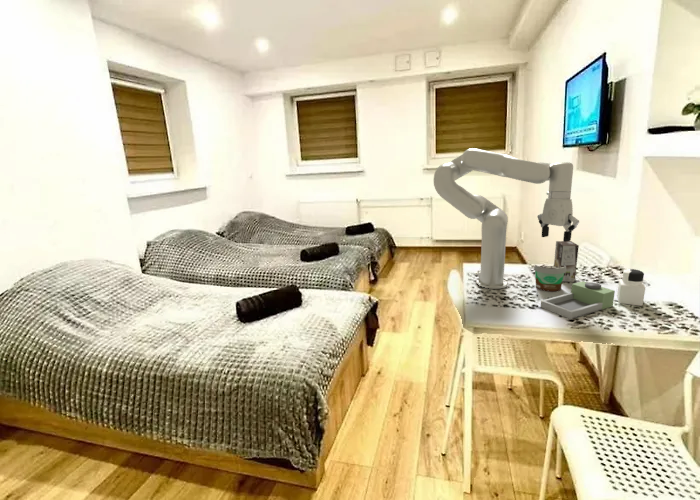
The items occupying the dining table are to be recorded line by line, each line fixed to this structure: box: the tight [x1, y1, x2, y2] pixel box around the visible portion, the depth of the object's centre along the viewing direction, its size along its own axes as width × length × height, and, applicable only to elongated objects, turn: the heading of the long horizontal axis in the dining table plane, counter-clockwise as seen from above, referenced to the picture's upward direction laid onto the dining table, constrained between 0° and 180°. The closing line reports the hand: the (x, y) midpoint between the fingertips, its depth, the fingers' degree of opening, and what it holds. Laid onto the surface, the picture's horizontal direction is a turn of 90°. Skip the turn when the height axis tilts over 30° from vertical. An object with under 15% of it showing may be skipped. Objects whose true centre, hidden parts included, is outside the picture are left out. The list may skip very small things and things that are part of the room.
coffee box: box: [553, 240, 580, 283], centre depth 164 cm, size 9×6×16 cm
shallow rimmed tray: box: [540, 281, 616, 320], centre depth 136 cm, size 12×22×7 cm, turn 114°
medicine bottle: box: [616, 268, 646, 307], centre depth 137 cm, size 7×7×12 cm
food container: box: [533, 264, 566, 293], centre depth 152 cm, size 12×6×10 cm, turn 81°
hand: (555, 238), depth 148 cm, fingers open, 9 cm apart
